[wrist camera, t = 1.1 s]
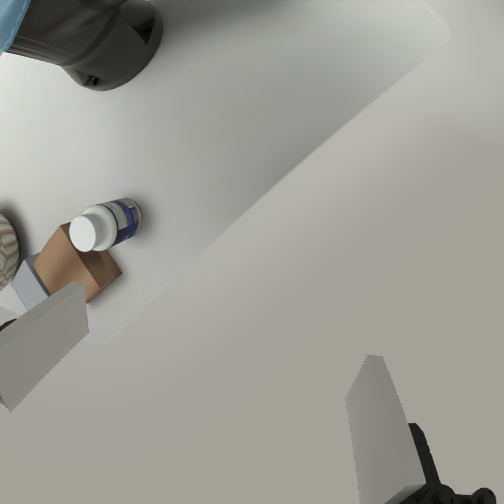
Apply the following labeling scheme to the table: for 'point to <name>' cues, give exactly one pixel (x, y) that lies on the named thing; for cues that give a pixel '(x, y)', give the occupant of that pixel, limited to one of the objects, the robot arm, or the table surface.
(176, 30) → the table surface
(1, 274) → the vase
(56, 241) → the walnut block
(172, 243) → the table surface
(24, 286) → the slate block
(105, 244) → the pill bottle
